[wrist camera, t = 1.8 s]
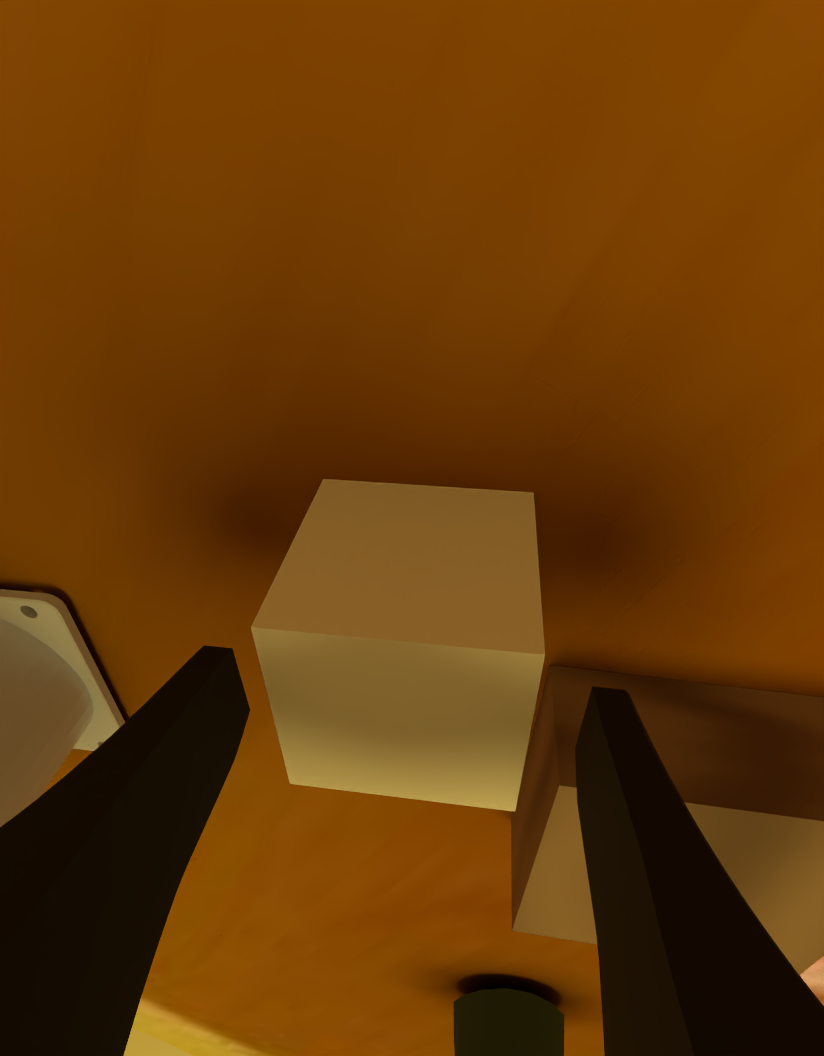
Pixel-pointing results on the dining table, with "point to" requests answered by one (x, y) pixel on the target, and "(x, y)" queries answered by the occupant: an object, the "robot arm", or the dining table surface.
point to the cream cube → (407, 642)
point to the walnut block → (685, 801)
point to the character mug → (507, 1024)
